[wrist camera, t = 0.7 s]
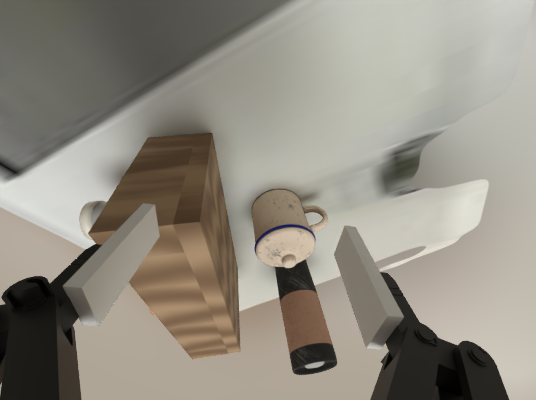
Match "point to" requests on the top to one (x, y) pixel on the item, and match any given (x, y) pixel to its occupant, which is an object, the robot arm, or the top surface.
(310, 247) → the teacup with lid
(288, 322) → the travel mug
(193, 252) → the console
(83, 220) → the cream button
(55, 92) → the top surface
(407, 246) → the top surface
